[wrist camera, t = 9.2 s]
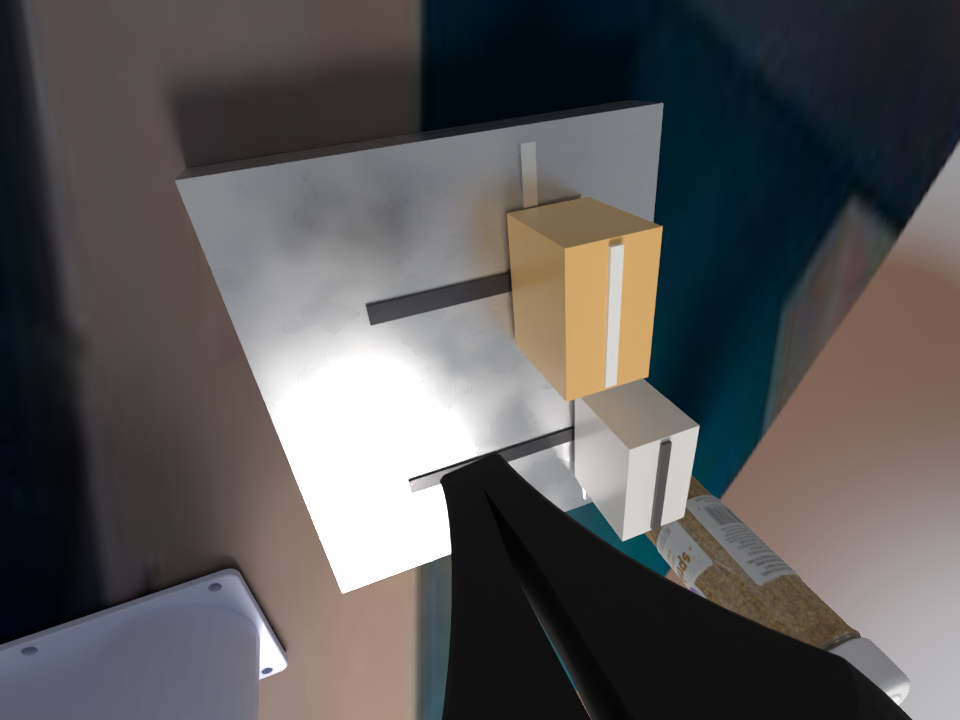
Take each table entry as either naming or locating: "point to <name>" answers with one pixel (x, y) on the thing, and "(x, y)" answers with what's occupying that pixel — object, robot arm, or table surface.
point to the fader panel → (407, 311)
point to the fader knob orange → (584, 293)
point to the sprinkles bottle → (762, 585)
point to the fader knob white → (634, 456)
